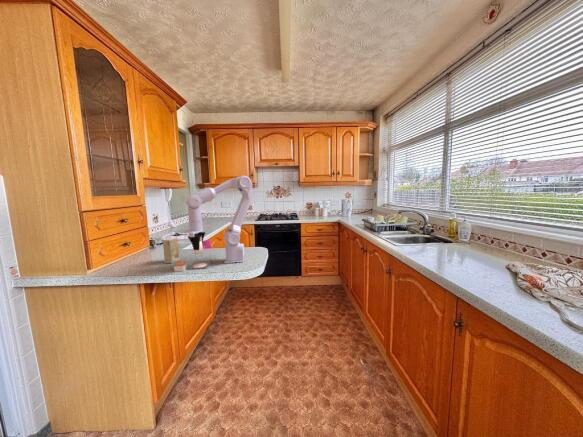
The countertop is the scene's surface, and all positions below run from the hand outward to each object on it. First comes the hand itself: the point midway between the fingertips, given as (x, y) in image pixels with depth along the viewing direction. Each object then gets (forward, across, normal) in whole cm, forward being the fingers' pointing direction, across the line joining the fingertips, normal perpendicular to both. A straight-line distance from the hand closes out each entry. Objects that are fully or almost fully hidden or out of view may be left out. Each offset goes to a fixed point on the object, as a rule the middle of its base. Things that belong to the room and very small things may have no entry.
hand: (198, 248), depth 111 cm
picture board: (+9, -2, 0) cm, 9 cm away
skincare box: (+9, -12, -18) cm, 23 cm away
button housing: (+9, +2, -8) cm, 12 cm away
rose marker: (+2, 0, 0) cm, 2 cm away
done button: (+7, +3, -8) cm, 11 cm away
